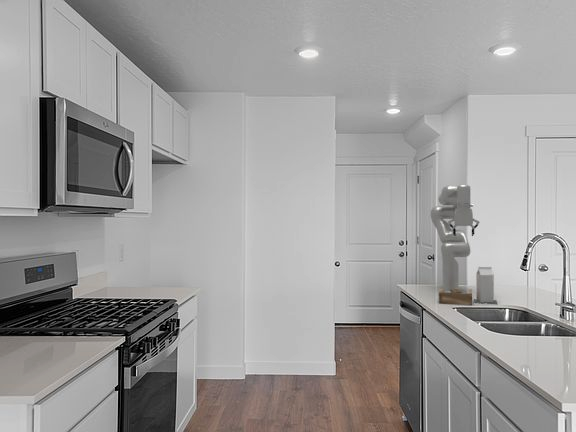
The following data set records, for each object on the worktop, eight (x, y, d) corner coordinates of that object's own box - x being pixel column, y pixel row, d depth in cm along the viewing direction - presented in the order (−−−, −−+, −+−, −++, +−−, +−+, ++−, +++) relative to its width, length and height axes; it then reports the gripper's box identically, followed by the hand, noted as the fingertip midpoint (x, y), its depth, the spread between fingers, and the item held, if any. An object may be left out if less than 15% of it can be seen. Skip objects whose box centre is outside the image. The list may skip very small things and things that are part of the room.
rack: (440, 298, 291) (440, 288, 291) (471, 300, 285) (471, 289, 285) (439, 303, 275) (438, 292, 275) (472, 305, 269) (472, 294, 269)
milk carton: (493, 302, 276) (493, 267, 276) (480, 302, 276) (480, 267, 276) (489, 300, 283) (489, 266, 283) (476, 300, 283) (476, 266, 283)
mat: (473, 299, 287) (473, 299, 287) (496, 300, 283) (496, 300, 283) (473, 303, 275) (473, 302, 275) (497, 304, 271) (497, 303, 271)
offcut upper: (454, 297, 281) (454, 292, 281) (450, 294, 291) (450, 289, 291) (462, 297, 281) (462, 292, 281) (457, 294, 291) (457, 289, 291)
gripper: (479, 206, 292) (479, 235, 292) (448, 206, 298) (448, 235, 298) (479, 206, 285) (479, 236, 285) (447, 206, 291) (447, 235, 291)
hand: (463, 235), depth 291 cm, fingers open, 9 cm apart
